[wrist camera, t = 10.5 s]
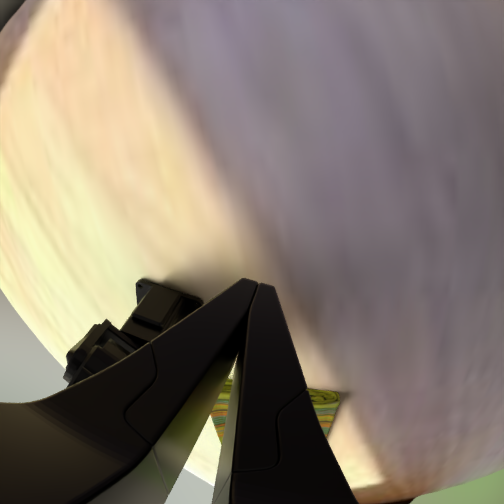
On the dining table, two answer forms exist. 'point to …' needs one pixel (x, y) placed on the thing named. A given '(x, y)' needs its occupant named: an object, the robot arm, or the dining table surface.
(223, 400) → the dish towel
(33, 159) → the dining table surface
